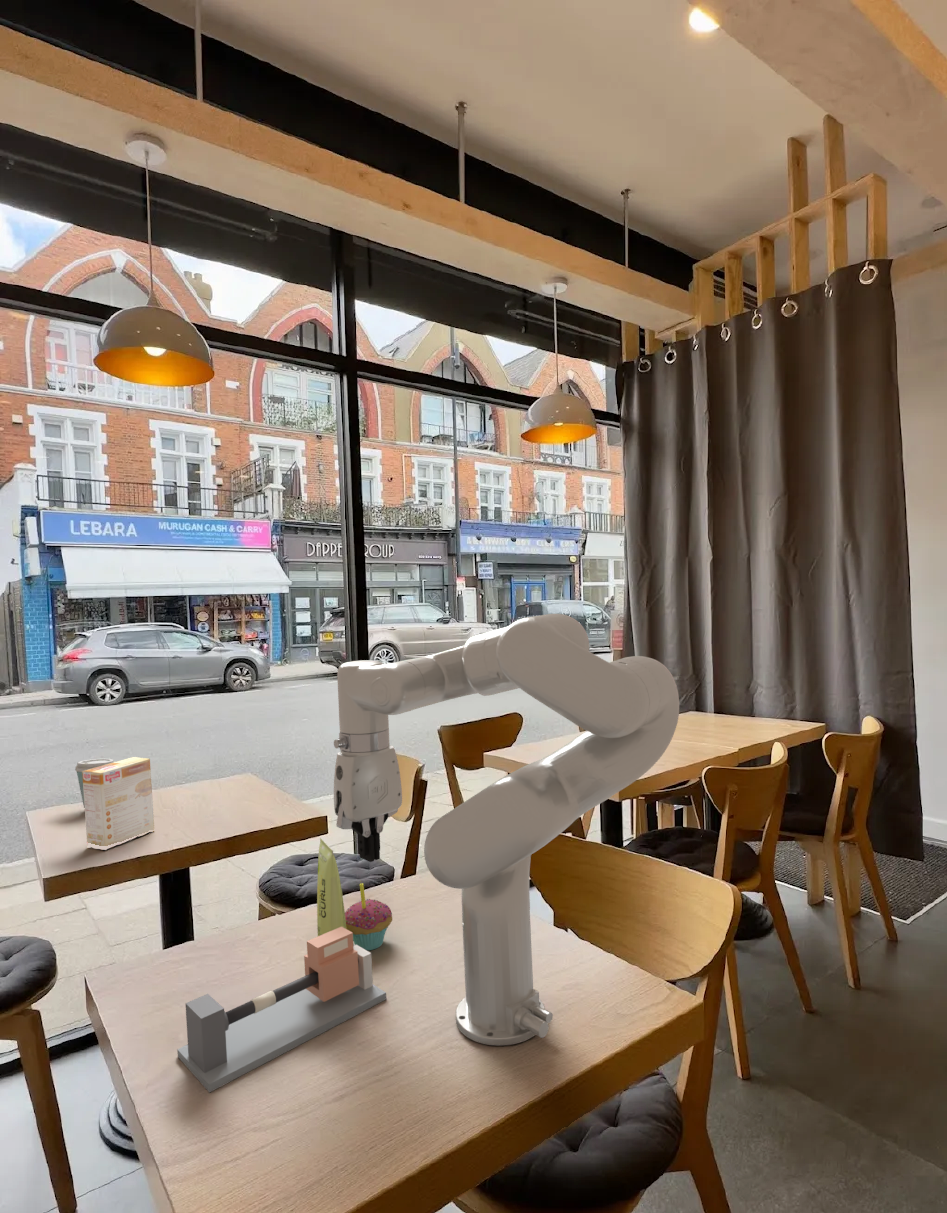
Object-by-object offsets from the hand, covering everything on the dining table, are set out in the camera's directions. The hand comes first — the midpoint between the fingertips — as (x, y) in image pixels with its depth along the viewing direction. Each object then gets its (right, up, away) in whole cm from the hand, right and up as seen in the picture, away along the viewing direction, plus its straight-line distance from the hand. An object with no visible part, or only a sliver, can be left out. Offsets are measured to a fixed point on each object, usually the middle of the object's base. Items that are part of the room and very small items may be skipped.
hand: (369, 858), depth 112 cm
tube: (-7, -20, +8) cm, 22 cm away
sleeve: (-5, -17, -5) cm, 19 cm away
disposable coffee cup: (-94, -21, +99) cm, 138 cm away
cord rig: (-10, -20, -10) cm, 25 cm away
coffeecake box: (-74, -21, +73) cm, 106 cm away
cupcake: (-2, -19, +13) cm, 23 cm away
